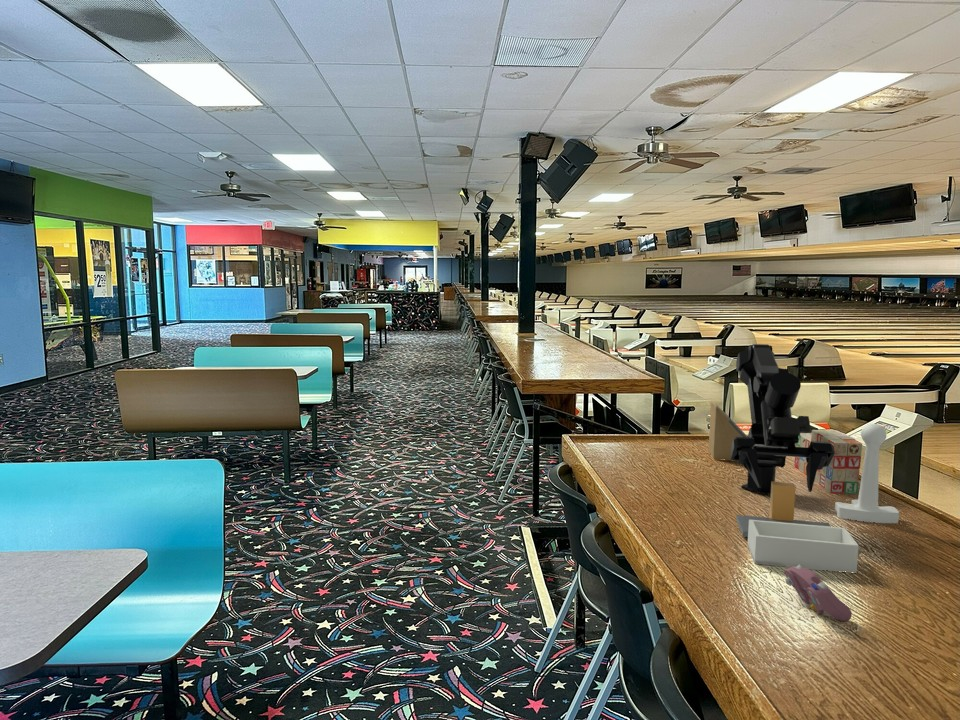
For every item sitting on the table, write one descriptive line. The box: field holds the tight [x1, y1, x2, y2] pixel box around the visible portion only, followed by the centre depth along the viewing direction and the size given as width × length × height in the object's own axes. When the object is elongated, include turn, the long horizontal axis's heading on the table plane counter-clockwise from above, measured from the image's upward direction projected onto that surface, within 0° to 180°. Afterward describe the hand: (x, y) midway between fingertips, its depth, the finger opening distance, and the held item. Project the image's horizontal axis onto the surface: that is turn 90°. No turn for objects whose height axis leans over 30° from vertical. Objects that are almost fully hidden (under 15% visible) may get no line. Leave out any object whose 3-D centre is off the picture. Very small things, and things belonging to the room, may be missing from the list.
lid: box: [735, 481, 832, 538], centre depth 126 cm, size 11×17×9 cm, turn 76°
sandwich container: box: [708, 400, 748, 461], centre depth 179 cm, size 9×15×15 cm, turn 79°
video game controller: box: [784, 565, 853, 622], centre depth 98 cm, size 10×5×7 cm, turn 5°
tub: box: [747, 520, 860, 574], centre depth 115 cm, size 8×16×5 cm, turn 76°
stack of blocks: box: [793, 429, 863, 495], centre depth 160 cm, size 21×6×12 cm, turn 176°
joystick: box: [834, 423, 900, 524], centre depth 135 cm, size 11×8×20 cm
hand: (785, 489), depth 128 cm, fingers open, 9 cm apart
